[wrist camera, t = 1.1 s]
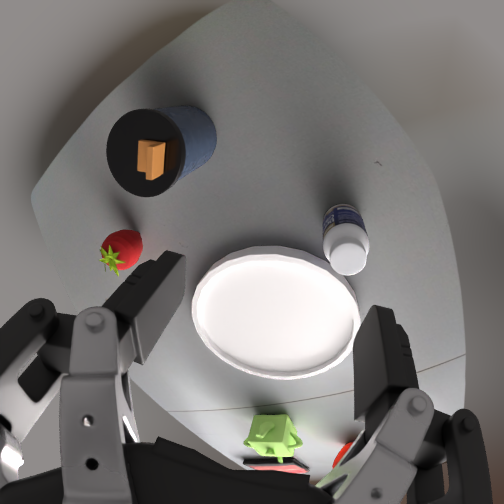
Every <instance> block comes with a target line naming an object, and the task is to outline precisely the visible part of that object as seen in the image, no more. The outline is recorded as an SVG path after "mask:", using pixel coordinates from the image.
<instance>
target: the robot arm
mask: <svg viewBox="0 0 504 504" xmlns="http://www.w3.org/2000/svg"><path fill="white" fill-rule="evenodd" d="M185 280H186V256H185V255H182V254H178V253H175V252H171V251H168V250H166V251H165V252H164V253H163V254H162V255H161V256H160V257H159V258H158V259H157V260H156V261H154V260H151V259H150V260H148V261H146V262H144V263H142V264H140V265H139V266H138V267H137V268H136V269H135V270H134V271H133V272H132V273H131V275H129V276H128V278H127V279H126V280H125V282H123V283H122V284H121V285H120V286H119V287H118V289H117V290H116V291H115V292H114V293H113V294H112V295H111V296H110V297H109V299H108V300H107V301H106V302H105V303H104V304H103V305H102V306H101V307H98V306H96V307H90V308H87V309H85V310H83V311H81V312H80V313H79V314H78V315H77V316H76V315H69V314H61V313H57V312H56V309H55V306H54V304H53V303H52V302H51V301H50V300H48V299H44V298H38V299H34V300H31V301H29V302H28V303H26V304H25V305H24V306H23V307H22V308H21V309H20V310H19V311H18V312H17V313H16V314H15V315H14V316H12V317H11V318H10V319H9V321H7V322H6V324H4V325H3V326H2V328H0V504H400V502H401V501H402V499H403V497H404V495H405V494H406V492H407V504H493V502H492V501H493V500H492V491H491V482H490V475H489V468H488V462H487V456H486V451H485V446H484V441H483V437H482V432H481V428H480V424H479V421H478V419H477V417H476V416H475V415H474V414H473V413H472V412H471V411H470V410H467V409H460V410H458V411H456V412H455V413H454V414H453V415H452V416H450V415H447V414H445V413H442V412H440V411H437V410H435V409H434V405H433V402H432V400H431V398H430V397H429V396H428V395H427V394H426V393H425V392H424V391H422V390H420V389H419V385H418V380H417V375H416V370H415V365H414V360H413V357H412V351H411V348H410V343H409V339H408V335H407V334H406V332H405V331H404V329H403V328H402V326H401V325H400V324H396V320H395V316H394V312H393V310H392V309H390V308H385V307H381V306H377V305H373V306H372V307H371V308H370V310H369V312H368V314H367V315H366V317H365V319H364V321H363V323H362V324H361V326H360V328H359V330H358V331H357V333H356V336H355V339H354V342H353V364H354V421H359V422H365V429H364V430H363V431H362V432H361V433H360V434H359V436H358V437H357V438H356V440H355V441H354V443H353V444H352V445H351V447H350V448H349V449H348V451H347V452H346V453H345V455H344V456H343V457H342V458H341V460H340V461H339V462H338V464H337V465H336V466H335V467H334V468H333V469H332V471H331V472H330V473H328V474H327V475H326V476H325V477H324V478H323V479H322V480H321V481H320V482H319V483H318V484H317V485H316V486H314V485H312V484H310V483H309V479H310V475H305V474H297V473H290V472H284V471H278V470H232V469H228V468H226V467H224V466H223V465H221V464H219V463H217V462H215V461H213V460H211V459H210V458H208V457H206V456H204V455H203V454H201V453H199V452H198V451H196V450H194V449H191V448H188V447H185V446H182V445H179V444H177V443H174V442H171V441H169V440H166V439H163V438H161V437H158V438H157V440H156V442H155V443H146V442H140V439H139V434H138V431H137V426H136V422H135V418H134V413H133V405H132V396H131V388H130V378H129V370H128V369H129V367H130V365H131V364H132V362H133V361H134V362H136V363H139V364H141V365H143V364H144V363H145V361H146V359H147V357H148V356H149V354H150V352H151V351H152V349H153V347H154V346H155V344H156V343H157V341H158V339H159V338H160V336H161V334H162V333H163V331H164V329H165V328H166V326H167V324H168V323H169V321H170V320H171V318H172V316H173V315H174V313H175V312H176V310H177V308H178V307H179V305H180V303H181V301H182V299H183V296H184V292H185ZM35 353H37V355H38V356H37V357H36V358H35V359H34V361H33V362H32V363H31V364H30V365H29V366H28V368H27V369H26V370H25V371H24V372H23V373H22V375H21V376H20V377H19V378H18V375H19V372H20V371H21V370H22V368H23V367H24V366H25V365H26V364H27V363H28V361H29V360H30V359H31V358H32V357H33V355H35ZM59 390H60V411H59V414H60V415H59V417H60V418H59V427H60V453H61V467H59V468H57V469H53V470H50V471H47V472H44V473H41V474H37V475H34V476H30V477H27V478H23V479H19V477H18V467H19V466H21V465H22V464H23V462H24V458H23V456H22V448H21V445H20V444H21V443H22V441H23V440H24V438H25V437H26V435H27V434H28V433H29V431H30V430H31V428H32V427H33V425H34V424H35V423H36V421H37V420H38V418H39V417H40V415H41V414H42V413H43V411H44V410H45V408H46V407H47V406H48V404H49V403H50V402H51V400H52V399H53V398H54V396H55V395H56V394H57V392H58V391H59ZM446 460H447V466H448V475H449V490H448V492H447V493H446V494H445V493H444V481H443V472H442V463H443V462H445V461H446Z"/></svg>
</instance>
